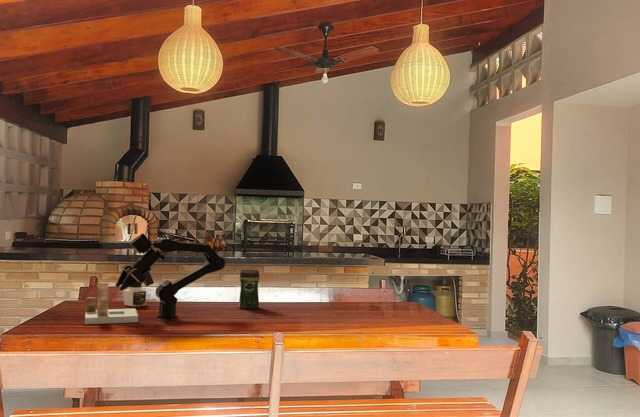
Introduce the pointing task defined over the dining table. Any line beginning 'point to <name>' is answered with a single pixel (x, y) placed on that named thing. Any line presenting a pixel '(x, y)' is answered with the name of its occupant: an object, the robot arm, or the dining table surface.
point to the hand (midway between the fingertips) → (118, 288)
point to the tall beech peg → (102, 299)
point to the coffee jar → (249, 289)
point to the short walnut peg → (91, 304)
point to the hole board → (112, 316)
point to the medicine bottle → (135, 295)
